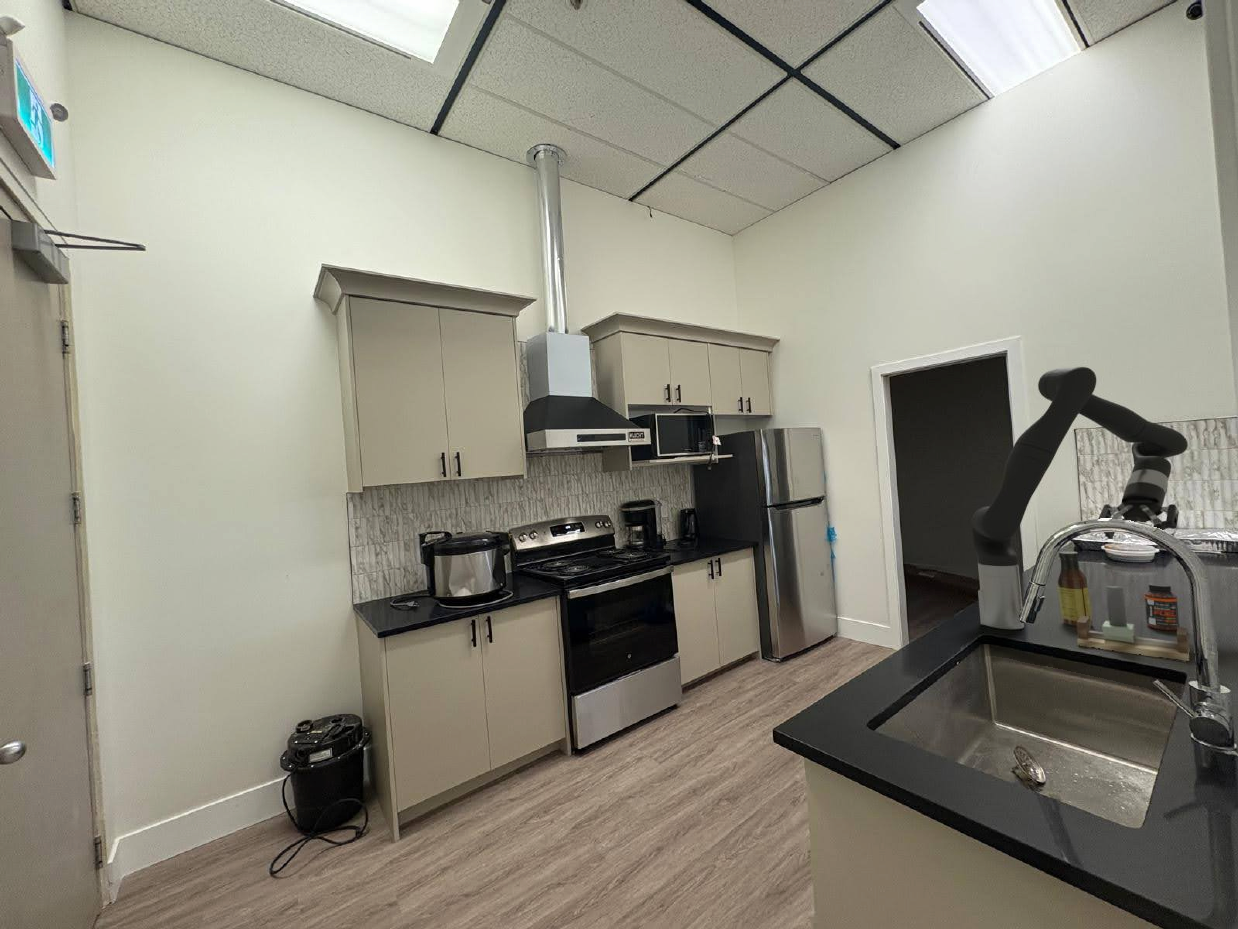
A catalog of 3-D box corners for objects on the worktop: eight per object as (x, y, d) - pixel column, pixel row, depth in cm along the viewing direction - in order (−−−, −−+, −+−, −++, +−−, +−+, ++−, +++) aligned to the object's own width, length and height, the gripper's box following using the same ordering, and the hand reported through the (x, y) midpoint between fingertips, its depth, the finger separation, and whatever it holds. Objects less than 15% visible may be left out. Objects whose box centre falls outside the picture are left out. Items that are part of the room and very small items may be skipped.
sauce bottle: (1080, 621, 143) (1073, 550, 144) (1099, 627, 137) (1092, 552, 138) (1055, 621, 144) (1048, 551, 145) (1073, 628, 137) (1065, 554, 138)
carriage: (1103, 639, 122) (1098, 588, 122) (1106, 634, 125) (1101, 584, 126) (1133, 643, 118) (1127, 590, 118) (1135, 637, 122) (1130, 586, 122)
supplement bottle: (1154, 630, 132) (1150, 586, 132) (1142, 624, 137) (1137, 582, 138) (1186, 631, 129) (1181, 587, 130) (1171, 625, 135) (1167, 582, 135)
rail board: (1078, 645, 124) (1075, 622, 124) (1084, 637, 130) (1082, 615, 130) (1188, 661, 110) (1185, 636, 111) (1189, 651, 116) (1187, 627, 116)
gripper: (1104, 482, 140) (1089, 527, 134) (1178, 479, 127) (1164, 529, 122) (1115, 500, 142) (1100, 545, 137) (1189, 499, 129) (1176, 549, 124)
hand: (1131, 538), depth 129 cm, fingers open, 8 cm apart
